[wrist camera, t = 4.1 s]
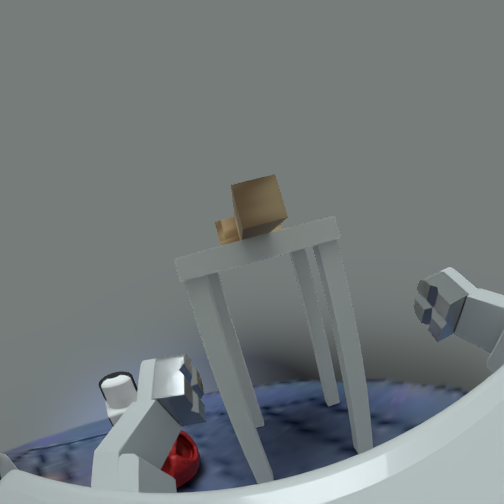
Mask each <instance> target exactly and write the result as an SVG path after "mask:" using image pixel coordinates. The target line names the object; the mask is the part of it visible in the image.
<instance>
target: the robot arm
mask: <svg viewBox="0 0 504 504" xmlns="http://www.w3.org/2000/svg"><path fill="white" fill-rule="evenodd" d="M417 290H418V292H419V294H418V295H417V297H416V298H415V302H414V309H415V314H416V316H417V318H418V319H419V320H420V321H421V323H424V324H427V325H428V331H429V332H430V333H431V334H432V336H433V337H434V338H435V339H436V341H437V342H438V341H440V340H442V339H444V338H446V337H448V336H449V335H451V334H453V333H454V335H456V336H458V337H460V338H462V339H464V340H466V341H468V342H470V343H472V344H474V345H476V346H478V347H480V348H482V349H484V350H486V351H488V352H490V353H491V354H490V356H489V358H488V359H487V361H486V366H487V367H488V368H489V370H490V371H491V373H492V375H491V376H490V377H488V378H487V379H486V380H485V381H483V382H482V383H481V384H480V385H478V386H477V387H476V388H475V389H473V390H472V391H470V392H469V393H468V394H466V395H465V396H464V397H462V398H461V399H459V400H458V401H457V402H455V403H454V404H452V405H451V406H449V407H448V408H446V409H445V410H443V411H441V412H440V413H438V414H437V415H435V416H433V417H432V418H430V419H429V420H427V421H425V422H423V423H422V424H420V425H418V426H416V427H415V428H413V429H411V430H409V431H407V432H405V433H403V434H402V435H400V436H398V437H396V438H394V439H392V440H390V441H387V442H385V443H383V444H381V445H379V446H377V447H375V448H372V449H370V450H368V451H365V452H363V453H361V454H358V455H356V456H353V457H351V458H348V459H345V460H343V461H340V462H337V463H334V464H331V465H329V466H326V467H322V468H319V469H316V470H313V471H310V472H306V473H303V474H299V475H295V476H292V477H288V478H284V479H279V480H275V481H271V482H266V483H261V484H256V485H250V486H244V487H238V488H230V489H223V490H213V491H202V492H186V493H177V490H176V480H175V479H174V478H173V477H172V476H170V475H168V474H167V473H165V472H163V471H161V468H162V466H163V464H164V462H165V460H166V458H167V456H168V454H169V452H170V450H171V448H172V446H173V445H174V443H175V441H176V439H177V437H178V435H179V433H180V431H181V429H182V427H181V426H187V425H193V424H199V423H204V422H206V415H205V405H204V404H203V402H202V401H201V398H202V396H203V395H204V391H203V384H202V380H201V377H200V374H199V372H198V370H197V369H196V368H195V367H192V364H191V363H192V362H191V361H192V360H191V358H190V357H189V355H188V354H186V353H185V354H179V355H173V356H167V357H161V358H157V359H150V360H144V361H143V362H142V363H141V367H140V375H139V382H138V390H137V399H136V402H132V403H131V404H130V406H129V407H128V408H127V410H126V411H125V412H124V414H123V415H122V416H121V417H120V419H119V420H118V421H117V423H116V424H115V425H114V427H113V428H112V429H111V430H110V432H109V433H108V434H107V436H106V437H105V438H104V440H103V441H102V442H101V443H100V445H99V446H98V447H97V449H96V450H95V451H94V459H93V469H92V480H91V487H85V486H79V485H74V484H69V483H64V482H60V481H56V480H52V479H48V478H44V477H40V476H37V475H33V474H30V473H27V472H24V471H21V470H18V469H17V468H16V467H15V465H14V464H13V463H12V461H11V460H10V459H9V457H8V456H7V455H5V454H2V453H0V504H504V295H500V294H497V293H494V292H491V291H487V290H484V289H481V288H480V289H477V288H475V287H474V286H473V285H472V284H471V283H470V282H469V281H467V280H466V279H465V278H464V277H463V276H462V275H461V274H459V273H458V272H457V271H456V270H454V269H453V268H450V267H449V268H446V269H444V270H442V271H440V272H437V273H435V274H433V275H431V276H429V277H427V278H424V279H422V280H420V281H419V283H418V286H417Z"/></svg>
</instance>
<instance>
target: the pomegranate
mask: <svg viewBox="0 0 504 504" xmlns="http://www.w3.org/2000/svg"><path fill="white" fill-rule="evenodd" d="M199 463H200V455H199V452H198V448H197V446H196V444H195V442H194V441H193V439H192V438H191V437H190V436H189V435H188V434H187V433H186V432H185V431H183V430H181V431H180V433H179V435H178V437H177V439H176V441H175V443H174V445H173V446H172V448H171V450H170V452H169V454H168V456H167V458H166V460H165V462H164V464H163V466H162V468H161V471H163V472H165V473H167V474H168V475H170V476H172V477H173V478H174V479H175V480H176V488H179V487H181V486H182V485H184V484H186V483H187V482H188V481H190V480H191V479H192V478H193V477H194V476H195V474H196V473H197V471H198V468H199Z"/></svg>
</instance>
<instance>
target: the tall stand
mask: <svg viewBox="0 0 504 504" xmlns="http://www.w3.org/2000/svg"><path fill="white" fill-rule="evenodd" d="M339 238H341V237H340V233H339V229H338V226H337V222H336V219H335V216H332V217H327V218H324V219H320V220H316V221H312V222H308V223H304V224H300V225H296V226H293V227H289V228H285V229H281V230H277V231H274V232H270V233H266V234H262V235H259V236H255V237H251V238H247V239H244V240H240V241H236V242H233V243H229V244H225V245H222V246H218V247H215V248H211V249H207V250H203V251H200V252H196V253H193V254H189V255H185V256H182V257H178V258H175V259H174V262H175V265H176V269H177V273H178V277H179V280H180V282H183V281H184V282H185V286H186V290H187V293H188V297H189V300H190V303H191V307H192V310H193V313H194V317H195V320H196V323H197V327H198V330H199V333H200V336H201V339H202V342H203V345H204V348H205V351H206V354H207V357H208V360H209V363H210V366H211V369H212V372H213V375H214V378H215V380H216V383H217V386H218V389H219V391H220V394H221V397H222V400H223V402H224V405H225V408H226V410H227V413H228V415H229V418H230V420H231V423H232V425H233V428H234V430H235V433H236V435H237V438H238V440H239V443H240V445H241V447H242V450H243V452H244V454H245V457H246V459H247V461H248V464H249V466H250V468H251V470H252V472H253V475H254V477H255V479H256V481H257V483H258V484H261V483H266V482H271V481H274V478H273V472H272V470H271V467H270V464H269V462H268V459H267V457H266V454H265V451H264V449H263V446H262V444H261V441H260V438H259V435H258V433H257V430H256V428H258V427H262V426H265V425H264V419H263V416H262V413H261V410H260V407H259V404H258V401H257V398H256V395H255V392H254V389H253V386H252V383H251V380H250V377H249V373H248V370H247V367H246V364H245V361H244V357H243V354H242V351H241V348H240V344H239V341H238V338H237V335H236V331H235V328H234V324H233V321H232V318H231V314H230V311H229V307H228V304H227V301H226V297H225V294H224V290H223V286H222V282H221V279H220V275H219V272H220V271H224V270H228V269H231V268H235V267H239V266H242V265H246V264H250V263H253V262H257V261H261V260H264V259H268V258H272V257H275V256H279V255H282V254H286V253H290V257H291V261H292V264H293V268H294V272H295V276H296V280H297V283H298V288H299V291H300V295H301V299H302V303H303V307H304V311H305V315H306V319H307V324H308V328H309V331H310V336H311V340H312V344H313V348H314V353H315V357H316V361H317V366H318V370H319V375H320V379H321V384H322V389H323V393H324V398H325V402H326V403H327V405H328V407H329V406H332V405H335V404H337V403H340V401H339V396H338V390H337V385H336V380H335V375H334V370H333V365H332V361H331V355H330V351H329V346H328V342H327V337H326V333H325V328H324V324H323V319H322V315H321V311H320V307H319V302H318V298H317V294H316V290H315V287H314V282H313V278H312V274H311V270H310V266H309V263H308V259H307V255H306V252H305V248H307V247H311V246H313V250H314V254H315V257H316V261H317V265H318V269H319V273H320V277H321V281H322V285H323V289H324V293H325V298H326V302H327V306H328V310H329V315H330V319H331V324H332V328H333V333H334V338H335V342H336V347H337V352H338V357H339V362H340V367H341V372H342V378H343V383H344V389H345V395H346V401H347V406H348V413H349V419H350V425H351V432H352V439H353V446H354V448H355V450H356V451H357V453H358V454H361V453H363V452H365V451H368V450H370V449H372V448H373V440H372V429H371V419H370V410H369V401H368V393H367V386H366V379H365V372H364V365H363V360H362V353H361V347H360V342H359V336H358V331H357V325H356V320H355V315H354V310H353V306H352V301H351V296H350V292H349V288H348V283H347V279H346V274H345V270H344V266H343V262H342V258H341V254H340V250H339V246H338V243H337V239H339Z"/></svg>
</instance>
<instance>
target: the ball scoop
mask: <svg viewBox="0 0 504 504" xmlns="http://www.w3.org/2000/svg"><path fill="white" fill-rule="evenodd" d="M231 189H232V198H233V207H234V216H235V217H232V218H228V219H225V220H221V221H218V222H215V224H216V228H217V232H218V236H219V239H220V243H221V246H222V245H225V244H229V243H233V242H236V241H240V240H244V239H247V238H251V237H255V236H259V235H262V234H266V233H270V232H274V231H277V230H281V229H282V227H281V223H282V222H283V221H284V220H285V219H286V218H288V217H287V214H286V209H285V206H284V203H283V199H282V196H281V192H280V189H279V186H278V182H277V179H276V176H275V175H271V176H266V177H262V178H258V179H254V180H250V181H245V182H242V183H238V184H234V185H231Z"/></svg>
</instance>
